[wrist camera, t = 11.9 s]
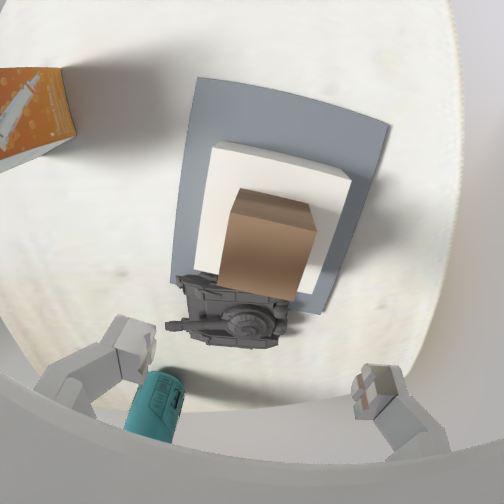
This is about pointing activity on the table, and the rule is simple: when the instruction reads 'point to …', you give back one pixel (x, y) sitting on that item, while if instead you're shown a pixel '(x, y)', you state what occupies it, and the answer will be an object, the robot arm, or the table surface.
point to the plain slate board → (283, 141)
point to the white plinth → (274, 183)
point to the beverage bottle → (156, 407)
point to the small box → (32, 114)
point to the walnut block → (266, 245)
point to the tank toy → (229, 314)
